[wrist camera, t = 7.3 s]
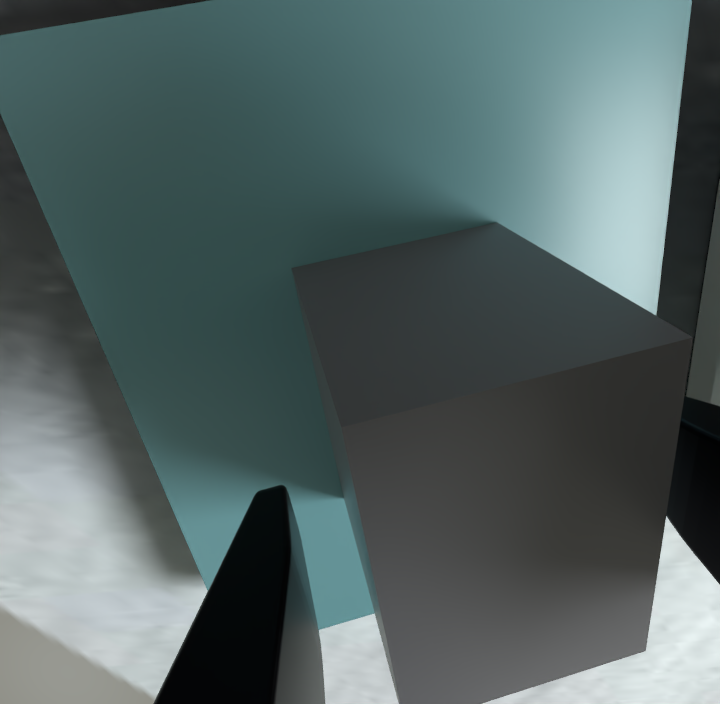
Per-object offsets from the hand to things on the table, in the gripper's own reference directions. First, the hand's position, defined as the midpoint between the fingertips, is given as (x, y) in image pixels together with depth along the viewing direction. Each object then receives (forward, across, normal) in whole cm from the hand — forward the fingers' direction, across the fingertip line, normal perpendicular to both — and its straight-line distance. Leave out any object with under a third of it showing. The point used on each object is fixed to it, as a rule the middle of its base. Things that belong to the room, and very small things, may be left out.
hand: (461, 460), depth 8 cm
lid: (+4, 0, 0) cm, 5 cm away
